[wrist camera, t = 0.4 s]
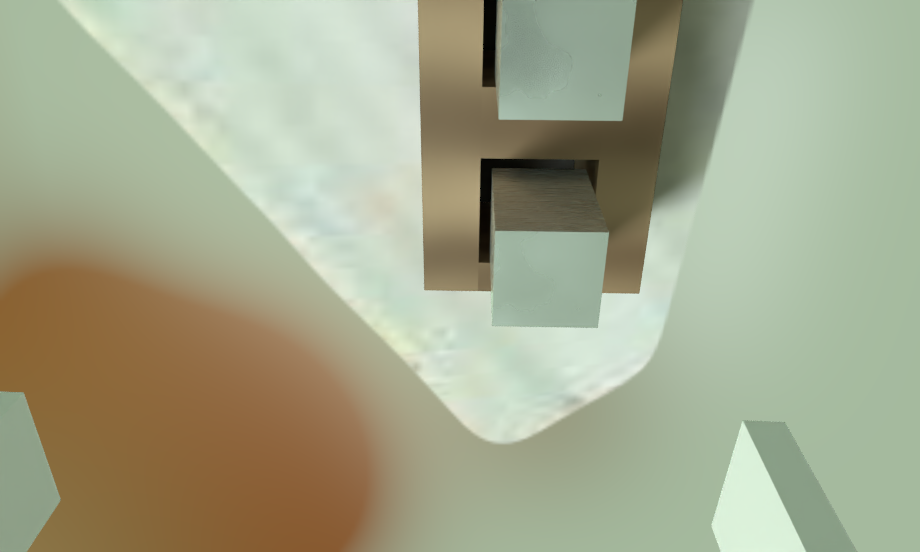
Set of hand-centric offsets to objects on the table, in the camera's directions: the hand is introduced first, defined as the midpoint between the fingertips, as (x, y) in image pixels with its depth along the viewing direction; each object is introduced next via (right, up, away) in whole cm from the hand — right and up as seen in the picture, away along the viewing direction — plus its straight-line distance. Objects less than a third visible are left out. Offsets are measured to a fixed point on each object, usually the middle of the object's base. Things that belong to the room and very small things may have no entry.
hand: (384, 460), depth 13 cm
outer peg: (+5, +6, +18) cm, 20 cm away
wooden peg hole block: (+5, +13, +22) cm, 26 cm away
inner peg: (+5, +13, +14) cm, 20 cm away
